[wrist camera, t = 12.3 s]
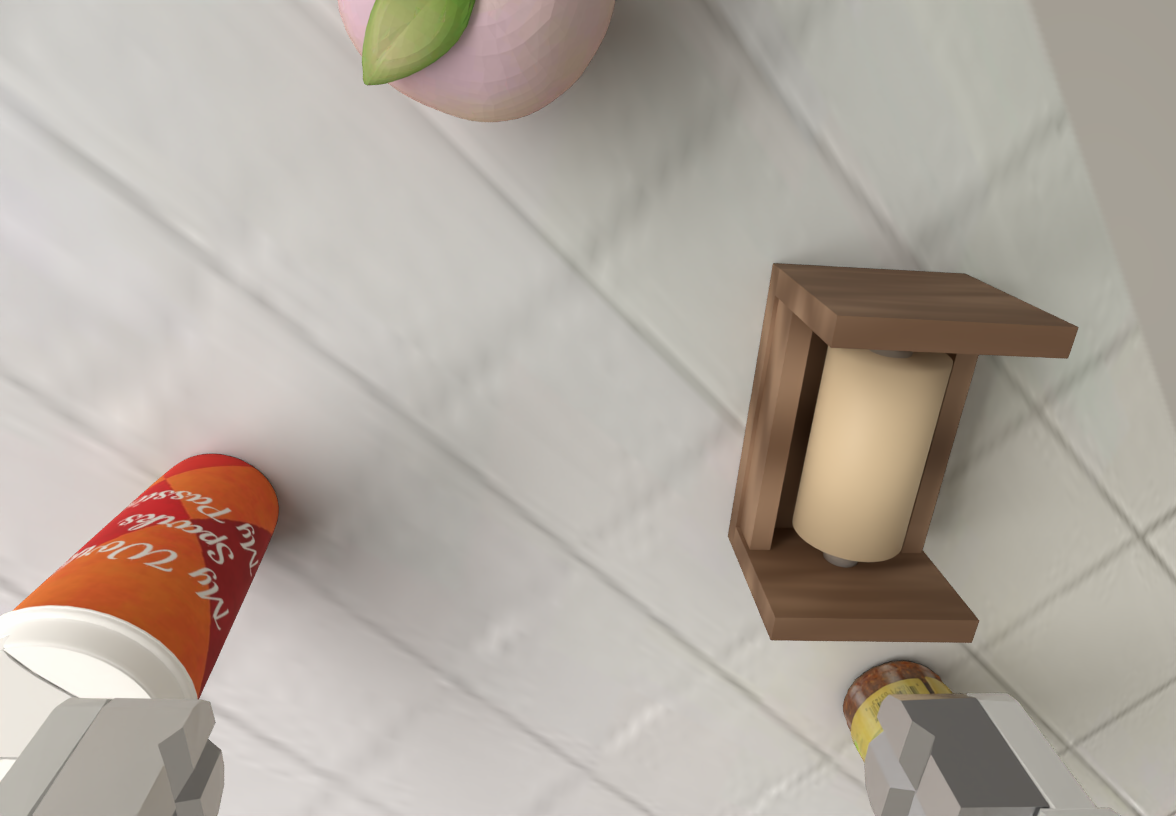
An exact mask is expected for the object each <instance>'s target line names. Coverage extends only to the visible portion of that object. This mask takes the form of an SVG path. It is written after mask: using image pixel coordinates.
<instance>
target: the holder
mask: <svg viewBox="0 0 1176 816" xmlns="http://www.w3.org/2000/svg"><path fill="white" fill-rule="evenodd" d="M1077 330H1078V327H1077V326H1075V325H1073V324H1070V323H1068V322H1066V321H1064V320H1062V319H1060V318H1058V317H1056V316H1054V315H1051V314H1049V313H1047V312H1045V311H1043V310H1041V309H1039V308H1037V307H1035V306H1032V305H1030V304H1028V303H1026V302H1024V301H1022V300H1020V299H1018V298H1015V297H1013V296H1011V295H1009V294H1007V293H1005V292H1003V291H1001V290H999V289H996V288H994V287H992V286H990V285H988V284H986V283H984V282H982V281H980V280H977V279H975V278H973V277H971V276H969V275H967V274H961V273H943V272H925V271H906V270H888V269H869V268H851V267H833V266H814V265H796V264H778V263H773V267H772V273H771V279H770V286H769V292H768V298H767V304H766V310H765V316H764V322H763V328H762V334H761V340H760V346H759V352H758V358H757V364H756V370H755V376H754V382H753V388H752V394H751V400H750V406H749V412H748V418H747V424H746V430H745V436H744V442H743V448H742V454H741V460H740V466H739V472H738V478H737V484H736V490H735V496H734V502H733V508H732V514H731V520H730V526H729V532H728V538H729V540H730V542H731V545H732V547H733V550H734V552H735V555H736V557H737V559H738V562H739V564H740V567H741V569H742V572H743V574H744V576H745V579H746V581H747V584H748V586H749V589H750V591H751V593H752V596H753V598H754V601H755V603H756V606H757V608H758V610H759V613H760V615H761V618H762V620H763V623H764V625H765V627H766V630H767V632H768V635H769V637H770V640H793V641H876V642H959V643H972V641H973V638H974V635H975V632H976V629H977V626H978V623H979V620H978V618H977V617H976V616H975V615H974V613H973V612H972V611H971V610H970V608H969V607H968V606H967V605H966V603H965V602H964V601H963V600H962V599H961V597H960V596H959V595H958V594H957V592H956V591H955V590H954V589H953V587H952V586H951V585H950V584H949V582H948V581H947V580H946V579H945V577H944V576H943V575H942V574H941V572H940V571H939V570H938V569H937V567H936V566H935V565H934V564H933V563H932V561H931V560H930V559H929V558H928V556H927V555H926V554H925V553H924V551H923V546H924V543H925V539H926V536H927V532H928V529H929V525H930V522H931V518H932V515H933V512H934V508H935V505H936V501H937V498H938V494H939V491H940V487H941V484H942V480H943V477H944V473H945V470H946V466H947V463H948V459H949V456H950V453H951V449H952V446H953V442H954V439H955V435H956V432H957V428H958V425H959V421H960V418H961V414H962V411H963V407H964V404H965V401H966V397H967V394H968V390H969V387H970V383H971V380H972V376H973V373H974V369H975V366H976V362H977V359H978V355H1001V356H1023V357H1045V358H1068V357H1069V354H1070V351H1071V348H1072V345H1073V342H1074V339H1075V336H1076V333H1077ZM828 346H830V347H831V348H846V349H868V350H891V351H913V352H935V353H946V354H947V355H948V356H950V358H951V359H952V360H953V365H952V369H951V373H950V376H949V380H948V383H947V387H946V391H945V394H944V398H943V401H942V405H941V409H940V412H939V416H938V419H937V423H936V427H935V430H934V434H933V437H932V441H931V445H930V448H929V452H928V456H927V459H926V463H925V466H924V470H923V474H922V477H921V481H920V484H919V488H918V492H917V495H916V499H915V502H914V506H913V510H912V513H911V517H910V520H909V524H908V528H907V531H906V535H905V539H904V542H903V546H902V549H901V551H900V552H899V554H897V555H896V556H895V557H893V558H891V559H888V560H885V561H879V562H858V561H851V560H846V559H842V558H839V557H835V556H832V555H830V554H827V553H825V552H822V551H820V550H818V549H816V548H815V547H813V546H811V545H810V544H808V543H807V542H806V541H804V540H803V539H802V538H801V537H800V536H799V535H798V534H797V532H796V531H795V529H794V527H793V523H792V521H793V514H794V510H795V505H796V500H797V495H798V490H799V485H800V480H801V476H802V471H803V466H804V461H805V456H806V451H807V446H808V441H809V437H810V432H811V427H812V422H813V417H814V412H815V407H816V403H817V398H818V393H819V388H820V383H821V378H822V373H823V368H824V364H825V359H826V354H827V349H828Z"/></svg>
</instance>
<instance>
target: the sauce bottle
mask: <svg viewBox="0 0 1176 816" xmlns="http://www.w3.org/2000/svg"><path fill="white" fill-rule="evenodd" d="M950 693H952V692H951V691H950V689H949V688H948V687H947V686H946V685H945V684H943V682H942V681H941V679H940V677H939V676H938V675H937V674H935V673H934V672H933V671H931V670H930V669H929V668H927V667H925V666H922V665H920V664H917V663H912V662H910V661H904V660H903V661H894V662H892V661H890V662H888V663H884V664H882V665H879V666H875V667H873V668H871V669H870V670H868V671H867V672H864V673H863V675H861V676H860V677H859V678H857V679H855V681H854V682H853V684H852V685H851V687H850V688H849V689H848V692H847V695H846V697H845V699H844V704H843V712H844V715H845V718H846V720H847V725H848V727H849V729H850V731H851V736H852V739H853V742H854V744H855V746H856V748H857V750H858V752H859V754H860V756H861V757H862V759H863V761H864V762H865V757H866V753H867V749H868V745H869V743H870V742H871V741H872V740H873V739H874V738H876V737H877V736H878V735H879V734H880V733H882V732H883V729H882V727H881V725H880V722H879V720H878V718H877V715H878V712H879V709H880V706H881V702H882V701H883V700H884V699H885V698H886V697H887V696H888V695H893V694H950Z"/></svg>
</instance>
